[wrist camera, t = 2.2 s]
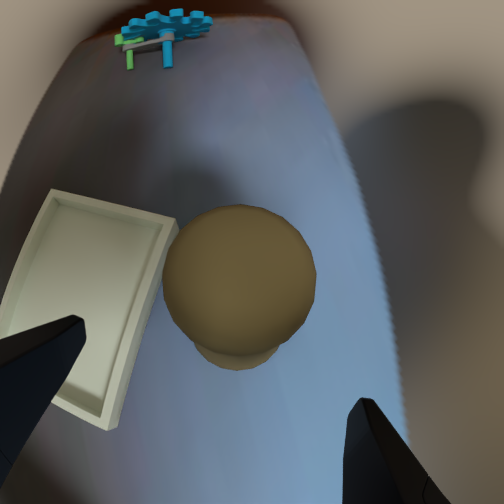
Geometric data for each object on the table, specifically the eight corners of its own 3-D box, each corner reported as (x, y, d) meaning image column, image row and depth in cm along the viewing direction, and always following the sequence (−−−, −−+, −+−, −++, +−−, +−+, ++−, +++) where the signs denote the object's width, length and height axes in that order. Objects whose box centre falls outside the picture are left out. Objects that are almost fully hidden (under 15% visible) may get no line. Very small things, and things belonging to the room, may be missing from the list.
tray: (117, 426, 16) (106, 431, 14) (0, 360, 17) (-14, 358, 15) (179, 230, 21) (175, 218, 20) (60, 200, 22) (51, 188, 20)
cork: (170, 310, 19) (106, 239, 9) (247, 259, 21) (260, 149, 11) (225, 389, 18) (214, 412, 7) (304, 332, 19) (379, 284, 9)
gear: (218, 25, 30) (201, -4, 21) (221, 68, 32) (204, 50, 23) (134, 41, 31) (96, 23, 22) (135, 82, 33) (96, 73, 24)
